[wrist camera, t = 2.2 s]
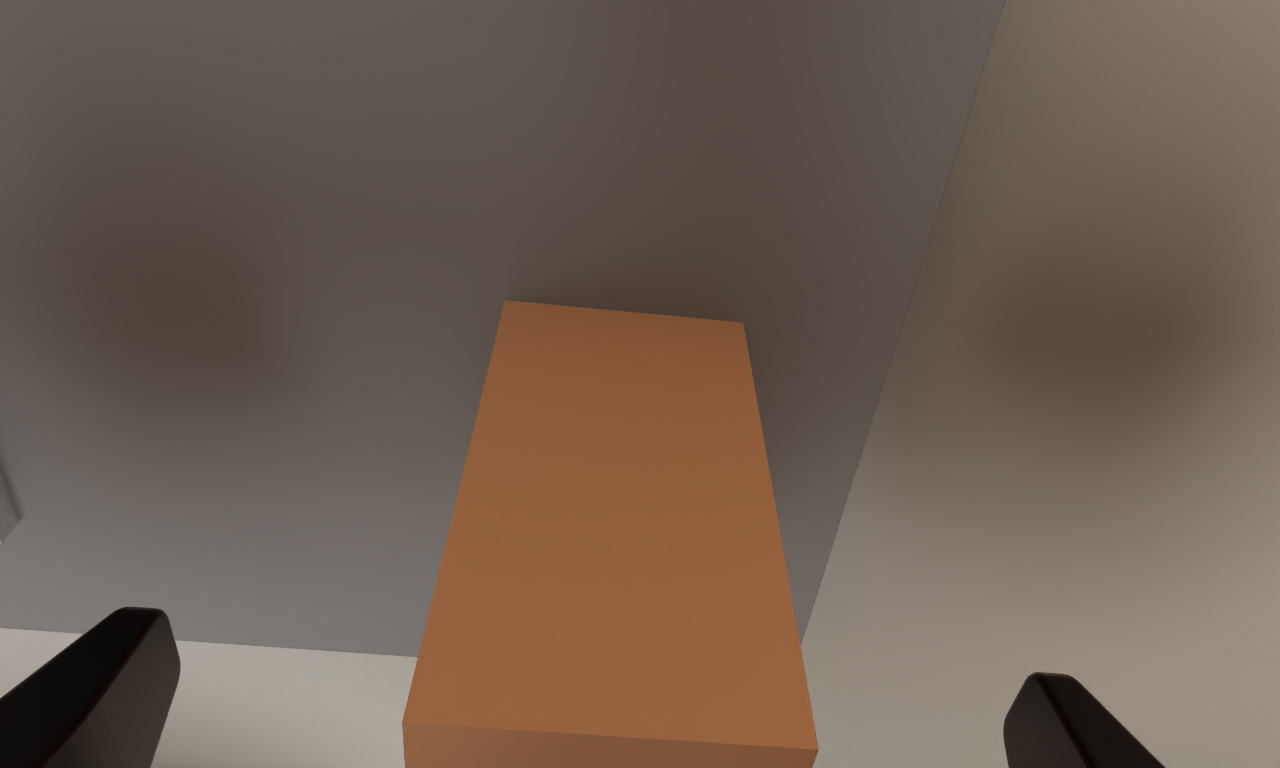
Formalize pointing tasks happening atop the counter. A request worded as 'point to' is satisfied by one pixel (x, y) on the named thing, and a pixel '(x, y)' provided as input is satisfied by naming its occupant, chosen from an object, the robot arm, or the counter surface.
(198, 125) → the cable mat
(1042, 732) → the robot arm
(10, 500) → the end holder
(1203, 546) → the counter surface
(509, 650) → the orange rectangular block
